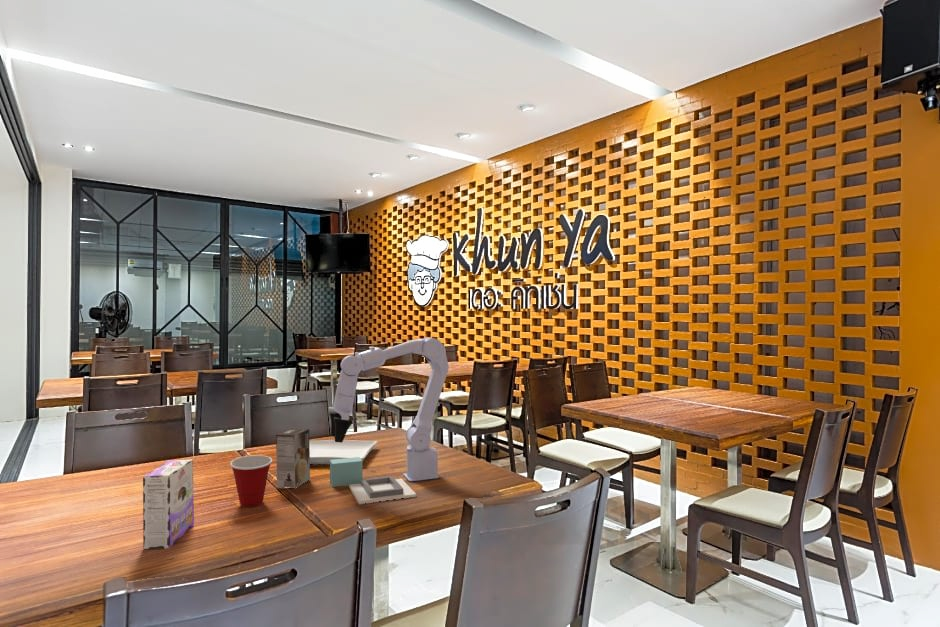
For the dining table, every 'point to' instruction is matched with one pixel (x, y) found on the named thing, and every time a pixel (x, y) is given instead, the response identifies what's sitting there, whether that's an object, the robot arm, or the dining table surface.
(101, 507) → the dining table surface
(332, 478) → the teal block
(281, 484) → the coffee box
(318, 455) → the square plate
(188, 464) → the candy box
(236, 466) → the plastic cup
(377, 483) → the socket board
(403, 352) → the robot arm
